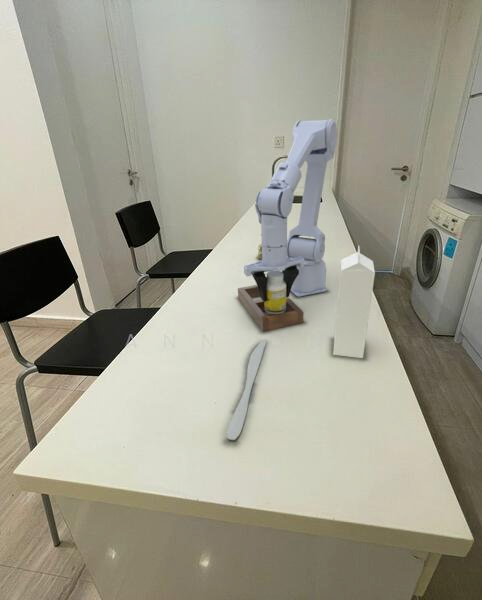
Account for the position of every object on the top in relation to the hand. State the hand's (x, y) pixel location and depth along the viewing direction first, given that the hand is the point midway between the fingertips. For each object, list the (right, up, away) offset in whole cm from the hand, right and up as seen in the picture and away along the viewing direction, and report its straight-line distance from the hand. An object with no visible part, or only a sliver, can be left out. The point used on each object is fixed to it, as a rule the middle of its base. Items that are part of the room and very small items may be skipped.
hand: (274, 297), depth 81 cm
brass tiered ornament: (0, +15, +42) cm, 44 cm away
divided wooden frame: (-1, -3, +6) cm, 7 cm away
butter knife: (-6, -16, -19) cm, 25 cm away
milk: (+15, -11, -10) cm, 21 cm away
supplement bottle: (0, -3, +2) cm, 4 cm away
